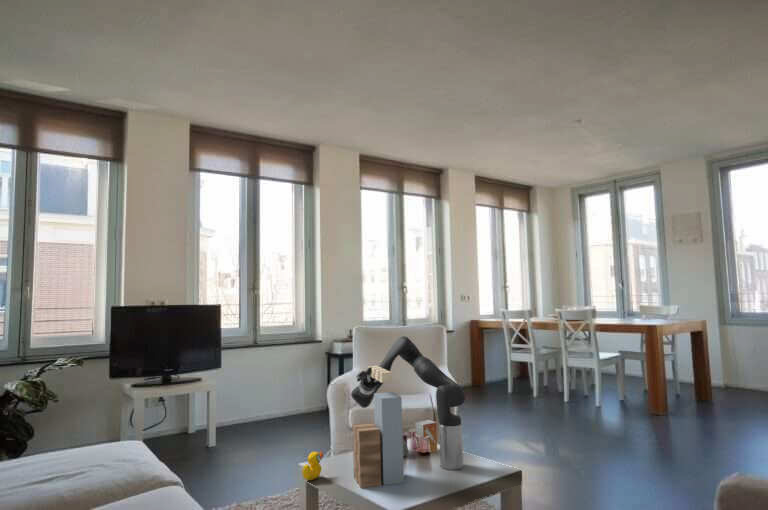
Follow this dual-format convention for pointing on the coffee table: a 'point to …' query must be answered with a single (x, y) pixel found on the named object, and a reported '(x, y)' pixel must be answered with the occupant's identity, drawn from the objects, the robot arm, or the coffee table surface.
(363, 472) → the brown wooden block
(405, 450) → the mineral specimen
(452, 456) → the robot arm
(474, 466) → the coffee table surface
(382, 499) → the coffee table surface
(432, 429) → the small box
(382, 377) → the beam
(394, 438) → the tall tower
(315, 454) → the duckling
